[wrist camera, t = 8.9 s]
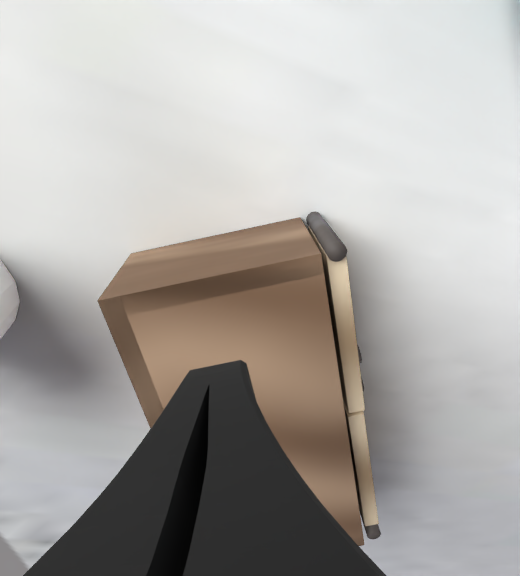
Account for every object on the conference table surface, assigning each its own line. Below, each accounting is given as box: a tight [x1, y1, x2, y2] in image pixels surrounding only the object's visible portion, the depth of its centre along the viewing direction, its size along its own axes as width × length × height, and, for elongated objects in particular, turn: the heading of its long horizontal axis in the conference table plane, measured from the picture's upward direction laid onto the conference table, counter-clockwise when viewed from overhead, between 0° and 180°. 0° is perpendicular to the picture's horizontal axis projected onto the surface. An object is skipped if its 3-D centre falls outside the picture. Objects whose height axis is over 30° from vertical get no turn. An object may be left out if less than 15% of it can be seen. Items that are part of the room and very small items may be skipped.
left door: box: [342, 378, 381, 539], centre depth 21 cm, size 8×1×5 cm, turn 12°
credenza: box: [98, 212, 365, 546], centre depth 20 cm, size 16×10×5 cm, turn 12°
